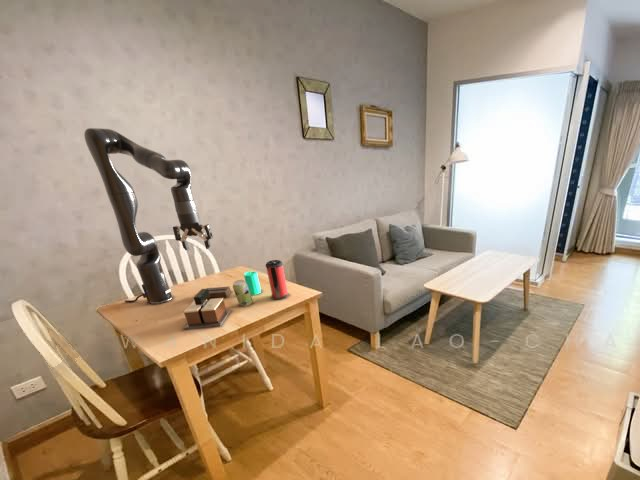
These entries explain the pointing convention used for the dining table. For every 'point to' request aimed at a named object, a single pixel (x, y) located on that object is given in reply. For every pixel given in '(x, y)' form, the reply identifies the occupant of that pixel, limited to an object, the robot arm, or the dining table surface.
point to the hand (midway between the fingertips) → (197, 249)
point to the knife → (201, 297)
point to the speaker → (277, 279)
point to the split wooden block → (206, 314)
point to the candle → (252, 282)
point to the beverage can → (242, 292)
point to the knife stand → (219, 292)
